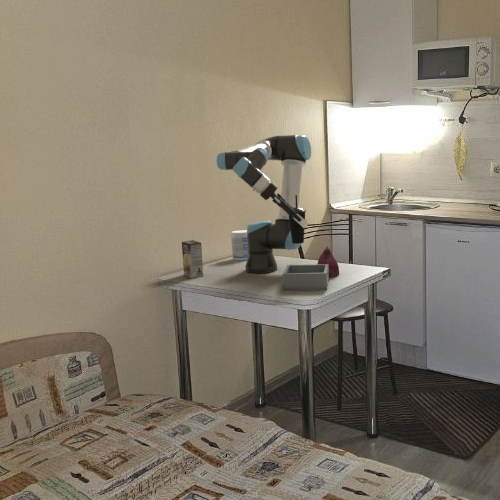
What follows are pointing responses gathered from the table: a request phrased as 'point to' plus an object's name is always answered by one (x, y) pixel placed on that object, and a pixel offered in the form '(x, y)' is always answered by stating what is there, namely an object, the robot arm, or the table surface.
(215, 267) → the table surface
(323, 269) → the bin
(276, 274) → the table surface
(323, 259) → the vegetable
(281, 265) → the table surface
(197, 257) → the coffee box
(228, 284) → the table surface
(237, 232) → the supplement tub
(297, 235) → the drinking cup
